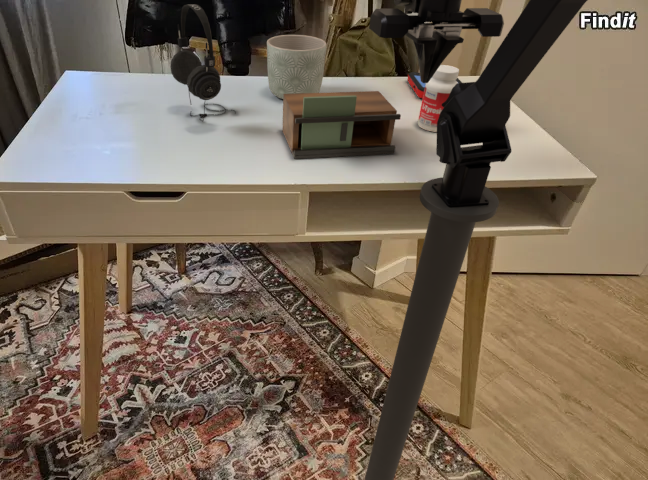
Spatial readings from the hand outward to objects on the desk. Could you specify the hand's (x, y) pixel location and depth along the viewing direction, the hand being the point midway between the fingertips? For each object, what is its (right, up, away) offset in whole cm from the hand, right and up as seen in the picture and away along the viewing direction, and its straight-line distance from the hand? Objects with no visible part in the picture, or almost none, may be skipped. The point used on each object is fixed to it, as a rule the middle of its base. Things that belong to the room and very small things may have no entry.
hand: (424, 82), depth 79 cm
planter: (-20, +9, +31) cm, 38 cm away
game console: (+13, +12, +36) cm, 41 cm away
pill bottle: (+7, -1, +20) cm, 21 cm away
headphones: (-37, +1, +20) cm, 42 cm away
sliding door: (-15, -9, +8) cm, 19 cm away
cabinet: (-13, -6, +13) cm, 19 cm away
